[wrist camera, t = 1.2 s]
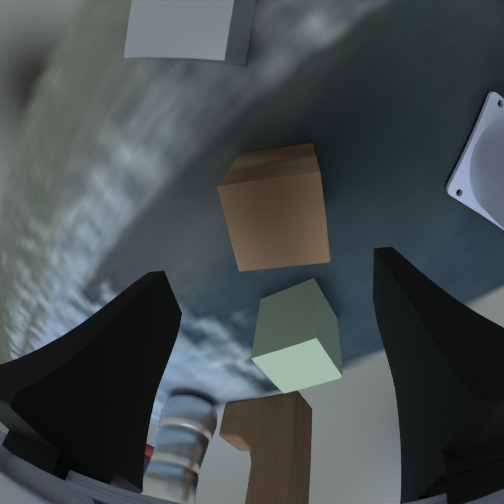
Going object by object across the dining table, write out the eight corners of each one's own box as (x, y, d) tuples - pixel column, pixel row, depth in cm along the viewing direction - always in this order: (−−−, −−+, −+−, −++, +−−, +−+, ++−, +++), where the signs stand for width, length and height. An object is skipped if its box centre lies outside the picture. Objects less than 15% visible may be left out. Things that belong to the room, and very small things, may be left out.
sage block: (313, 277, 23) (316, 338, 18) (336, 317, 25) (342, 377, 20) (260, 298, 24) (250, 358, 19) (287, 335, 26) (283, 393, 21)
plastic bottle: (231, 412, 34) (199, 566, 17) (188, 417, 37) (151, 553, 20) (199, 383, 32) (150, 556, 15) (156, 390, 34) (104, 538, 17)
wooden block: (244, 420, 35) (219, 554, 20) (224, 402, 33) (192, 548, 18) (313, 408, 32) (305, 559, 17) (298, 388, 30) (284, 558, 15)
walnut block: (312, 142, 18) (320, 171, 13) (321, 210, 20) (330, 262, 15) (239, 153, 19) (216, 186, 14) (253, 219, 21) (239, 271, 16)
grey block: (257, -4, 13) (241, -36, 8) (245, 65, 16) (224, 60, 11) (182, -6, 14) (138, -32, 9) (172, 59, 16) (123, 57, 11)
